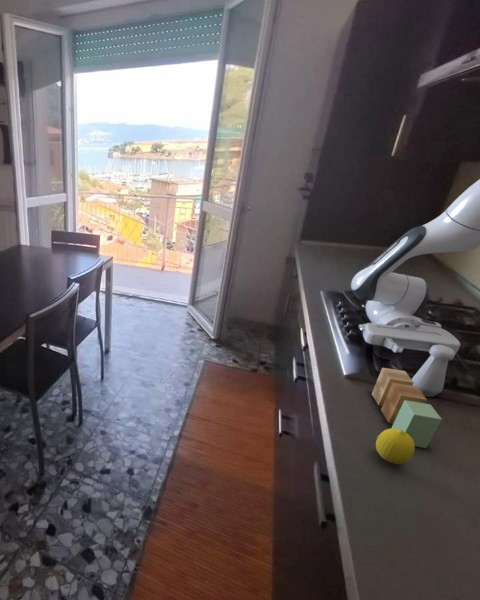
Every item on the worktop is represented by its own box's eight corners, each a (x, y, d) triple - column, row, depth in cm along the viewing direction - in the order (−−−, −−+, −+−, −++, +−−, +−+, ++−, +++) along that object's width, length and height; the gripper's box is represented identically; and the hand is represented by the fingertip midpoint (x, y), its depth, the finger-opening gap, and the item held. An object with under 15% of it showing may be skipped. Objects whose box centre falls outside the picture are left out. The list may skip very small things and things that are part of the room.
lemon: (410, 476, 68) (426, 445, 65) (375, 467, 70) (389, 437, 67) (399, 453, 73) (413, 424, 69) (366, 446, 75) (379, 417, 71)
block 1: (371, 393, 89) (382, 367, 86) (393, 397, 88) (405, 370, 84) (378, 405, 85) (389, 378, 82) (401, 409, 84) (413, 382, 81)
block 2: (380, 409, 84) (392, 382, 81) (404, 413, 83) (417, 386, 79) (388, 423, 80) (401, 395, 77) (412, 427, 79) (427, 399, 75)
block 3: (391, 427, 79) (404, 399, 76) (416, 432, 78) (430, 404, 74) (399, 443, 75) (414, 414, 72) (426, 448, 74) (442, 419, 70)
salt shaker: (445, 399, 87) (469, 354, 81) (421, 399, 87) (443, 355, 81) (424, 383, 92) (445, 341, 86) (402, 384, 92) (421, 341, 86)
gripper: (359, 314, 106) (377, 337, 94) (446, 323, 99) (476, 349, 88) (353, 332, 109) (369, 357, 97) (437, 342, 102) (465, 370, 90)
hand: (421, 353), depth 92 cm, fingers open, 8 cm apart
